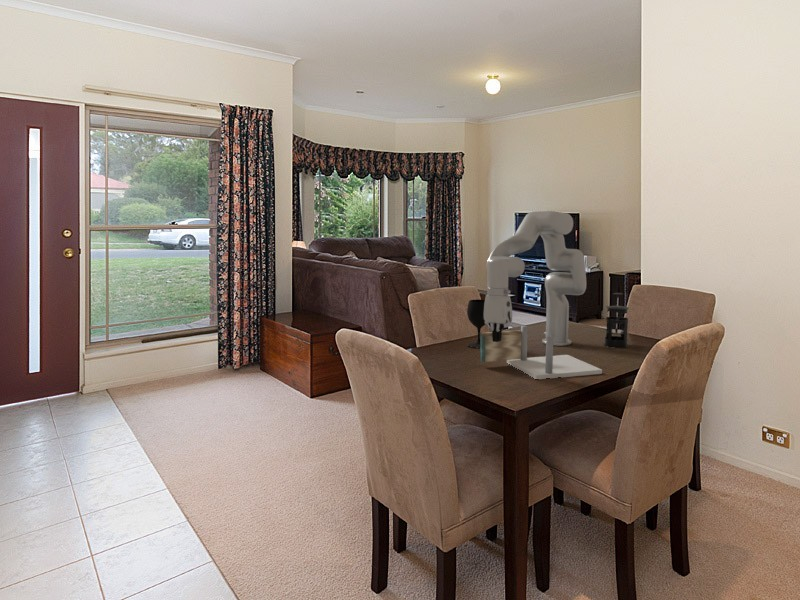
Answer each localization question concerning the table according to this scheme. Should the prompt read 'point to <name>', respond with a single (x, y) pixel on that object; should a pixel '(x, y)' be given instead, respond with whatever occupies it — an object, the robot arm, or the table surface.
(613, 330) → the french press
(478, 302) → the wine glass
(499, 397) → the table surface
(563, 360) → the white base with posts
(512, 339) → the beige wavy patterned slab
